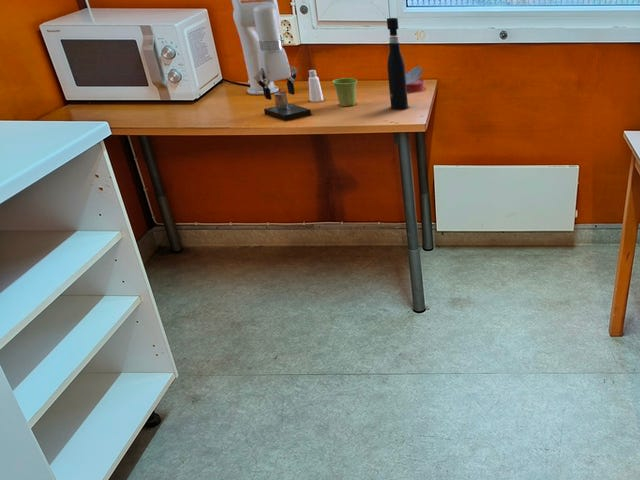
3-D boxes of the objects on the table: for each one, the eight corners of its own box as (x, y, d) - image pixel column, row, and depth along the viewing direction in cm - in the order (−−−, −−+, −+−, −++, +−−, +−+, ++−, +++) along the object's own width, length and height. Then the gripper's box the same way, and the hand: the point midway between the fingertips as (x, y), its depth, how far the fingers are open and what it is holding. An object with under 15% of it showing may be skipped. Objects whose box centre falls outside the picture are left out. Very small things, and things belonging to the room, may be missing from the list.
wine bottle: (410, 106, 242) (404, 17, 225) (403, 110, 237) (396, 20, 220) (395, 105, 244) (387, 17, 227) (388, 109, 239) (379, 19, 222)
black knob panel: (264, 114, 236) (263, 108, 235) (290, 108, 242) (289, 102, 241) (285, 121, 228) (284, 115, 227) (311, 115, 234) (310, 108, 233)
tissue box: (423, 102, 265) (423, 82, 256) (399, 99, 265) (398, 79, 256) (425, 83, 270) (425, 63, 261) (402, 81, 270) (401, 60, 261)
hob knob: (280, 109, 233) (277, 94, 230) (274, 107, 236) (271, 92, 232) (290, 107, 235) (288, 92, 232) (284, 105, 238) (281, 90, 235)
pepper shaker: (317, 102, 249) (312, 72, 243) (307, 101, 251) (302, 71, 245) (326, 99, 253) (322, 69, 246) (316, 98, 255) (312, 68, 249)
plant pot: (362, 101, 249) (360, 78, 244) (356, 107, 242) (353, 83, 237) (339, 101, 250) (336, 77, 245) (332, 107, 242) (329, 83, 237)
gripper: (286, 40, 231) (294, 90, 241) (243, 47, 221) (253, 99, 231) (297, 43, 226) (306, 93, 237) (254, 50, 216) (264, 103, 227)
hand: (280, 96), depth 234 cm, fingers open, 9 cm apart
